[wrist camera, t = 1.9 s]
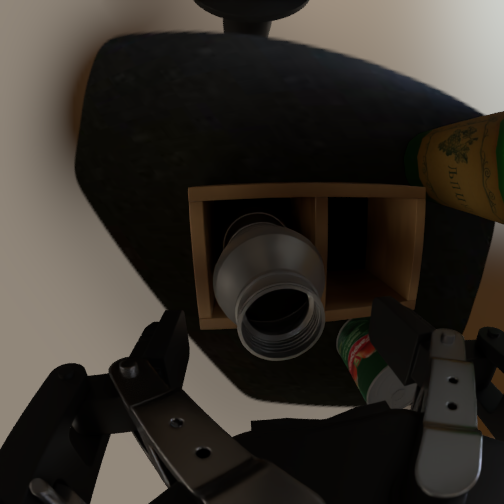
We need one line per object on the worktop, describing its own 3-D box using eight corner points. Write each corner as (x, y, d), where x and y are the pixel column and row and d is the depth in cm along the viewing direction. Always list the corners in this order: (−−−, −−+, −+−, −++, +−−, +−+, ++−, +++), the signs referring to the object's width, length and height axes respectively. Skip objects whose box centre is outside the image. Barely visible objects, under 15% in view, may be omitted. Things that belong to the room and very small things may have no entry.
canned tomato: (335, 316, 34) (371, 368, 23) (391, 304, 34) (438, 346, 23) (335, 367, 36) (363, 422, 25) (387, 353, 36) (424, 401, 25)
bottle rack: (203, 185, 29) (187, 187, 20) (375, 183, 30) (426, 187, 21) (210, 286, 32) (200, 329, 22) (371, 275, 33) (414, 309, 23)
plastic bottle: (211, 222, 30) (169, 295, 11) (269, 193, 30) (328, 218, 11) (238, 274, 32) (243, 404, 13) (294, 247, 32) (374, 345, 12)
